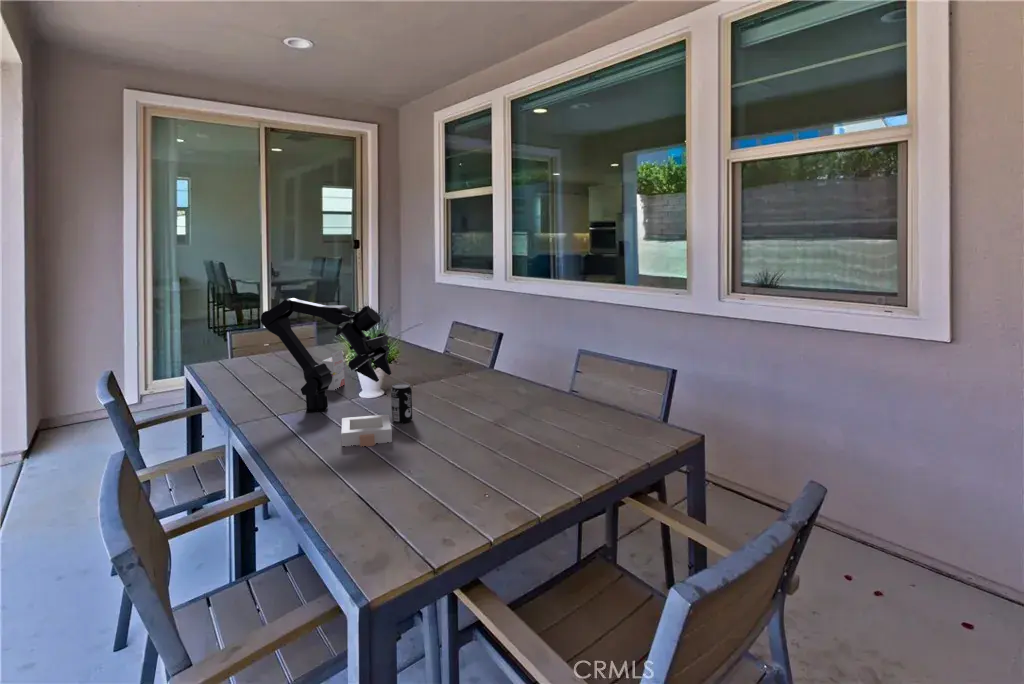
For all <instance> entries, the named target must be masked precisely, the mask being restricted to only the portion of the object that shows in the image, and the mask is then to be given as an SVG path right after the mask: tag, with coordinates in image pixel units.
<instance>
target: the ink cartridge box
mask: <svg viewBox="0 0 1024 684" xmlns="http://www.w3.org/2000/svg"><path fill="white" fill-rule="evenodd" d="M322 363H325V364H326V366H327V368H328V369H329V370H330V371H331V375H332V377H333V378H332V382H331V384H330V385H329V388H328V390H327V391H336V390H338V389H340V388H341V386H342V387H344V386H345V385H346V384H345V383H346V382H345V365H344V354H343V350H342V349H340V350H338V351H334V352H333V353H331V357H328V358H326V359H322V361H321V364H322ZM343 385H344V386H343ZM339 387H340V388H339ZM337 388H338V389H337ZM335 389H336V390H335Z"/></svg>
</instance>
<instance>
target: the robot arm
mask: <svg viewBox="0 0 1024 684" xmlns="http://www.w3.org/2000/svg"><path fill="white" fill-rule="evenodd" d="M295 312H296V313H298V314H302V315H303V314H304V315H307V316H314V317H317V318H320V319H323V320H324V321H325V322H327V323H330V324H332V325H334V326H337V327H336V333H335V336H337V337H338V336H340V335H343V337H344V338H345V339H346V341H347V342H348V344H349V345H350V347H348V348H349V349H350V351H352V350H353V351H354V352H355V354H356V356H354V357H353V358H352V359H351V360H349V361H348V368H349V369H350V370H351V371H354V372H356V373H357V372H358V374H361V375H363V376H365V377H367V378H368V379H370V380H372V381H373V382H375V383H377V382H379V380H380V379H379V377H378V375H377V373H376V371H375V370H374V368H373V366H372V363H373V364H375V366H377V367H378V368H379V369H380V370H381V371H383V372H384V373H385V374H387V375H388V376H390V375H392V371H391V367H390V365H389V361H388V355H389V354H390V350H391V349H390V347H389V346H388V345H389V342H388V341H389V339H390V337H389V336H388V335H387V334H386V333H385V332H381V333H378V334H377V337H374V338H372V337H371V336H370V335H366V334H365V333H364V332H369V330H371V329H372V328H374V327H375V326H376V325H378V324H379V323H380V322H381V317H380V314H379V313H378V312H377V311H376V310H374V309H373V308H371V307H370V306H369V305H364V306H363V308H361V310H359V311H354V310H352V309H351V307H349V306H347V305H344V304H343V305H337V304H336V305H335V304H333V305H326V304H320V303H315V302H311V301H307V300H302V299H298V298H295V297H292V298H291V297H290V298H285V299H283V301H282V302H280V303H278V304H277V305H275V306H274V307H272V308H271V309H269V310H265V311H263V313H261V316H260V322H261V325H262V326H263V327H265V329H266V330H267V331H268V332H269V333H272V334H274V335H275V336H277V337H278V338H279V340H280V341H281V343H283V345H284V347H286V349H287V350H288V352H289V354H290V355H291V356H292V357H293V359H295V361H296V363H297V364H298V365H299V367H300V368H301V370H302V371H303V378H304V381H305V382H306V383H305V384H304V385H303V386H302V387H301V388H300V391H301V395H302V396H305V405H306V409H305V412H306V413H317V412H318V413H319V412H326V411H327V409H328V406H329V401H328V399H329V398H328V394H326V391H329V390H328V388H329V385H330V384H331V382H332V378H333V377H332V375H331V371H330V370H329V369H328V368H327V366H326V364H325V363H322V362H321V363H319V362H317V361H316V360H315V358H313V356H312V354H310V353H309V351H308V350H307V348H306V347H305V346H304V344H303V343H302V342H301V340H300V338H299V337H298V336H297V335H296V333H295V332H294V331H293V329H292V328H291V325H292V324H291V320H290V318H289V317H291V316H292V315H293V314H294V313H295ZM351 321H352V322H351ZM343 324H344V325H343ZM340 325H342V326H340Z"/></svg>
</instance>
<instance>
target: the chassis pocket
mask: <svg viewBox="0 0 1024 684" xmlns="http://www.w3.org/2000/svg"><path fill="white" fill-rule="evenodd" d="M340 432H341V433H340V435H341V447H342V446H345V447H354V446H353V445H356V446H359V447H360V448H364V446H366V447H375V445H377V444H376V443H378V444H386V443H387V442H389V443H393V435H392V434H393V433H392V432H393V431H392V424H391V419H390V415H389V414H378V415H377V414H376V415H363V416H352V417H342V418H341V431H340ZM351 445H352V446H351ZM362 446H363V447H362Z"/></svg>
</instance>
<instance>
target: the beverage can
mask: <svg viewBox="0 0 1024 684" xmlns="http://www.w3.org/2000/svg"><path fill="white" fill-rule="evenodd" d="M391 386H392V387H391V389H390V401H391V402H390V404H391V406H390V407H391V421H393V423H395V424H398V423H403V424H407V422H408V423H410V422H411V420H413V398H412V397H413V393H412V392H413V391H412V388H411V384H410V383H405V382H402V383H401V382H400V383H394V384H392V385H391Z"/></svg>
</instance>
